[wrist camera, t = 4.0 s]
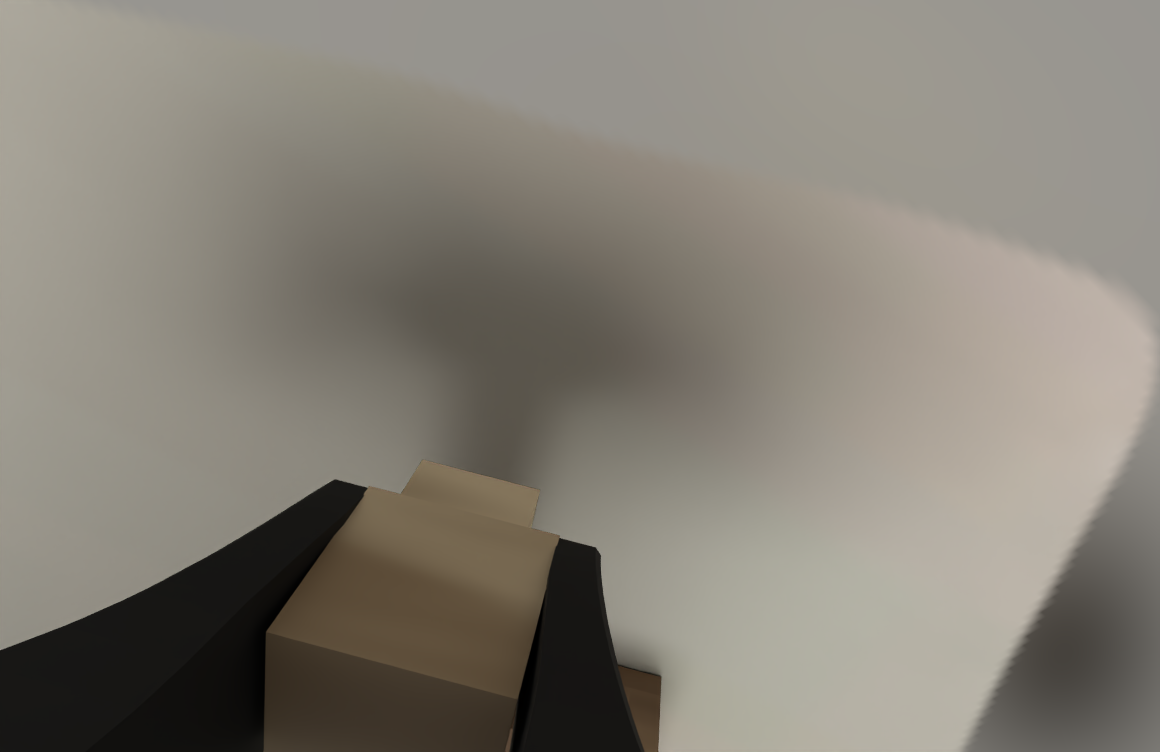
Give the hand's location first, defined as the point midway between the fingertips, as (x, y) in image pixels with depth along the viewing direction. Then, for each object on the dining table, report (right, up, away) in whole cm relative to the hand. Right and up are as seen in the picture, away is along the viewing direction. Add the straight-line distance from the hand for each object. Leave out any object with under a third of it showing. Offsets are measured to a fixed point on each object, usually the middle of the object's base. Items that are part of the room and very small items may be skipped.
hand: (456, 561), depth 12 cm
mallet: (0, -1, +2) cm, 2 cm away
